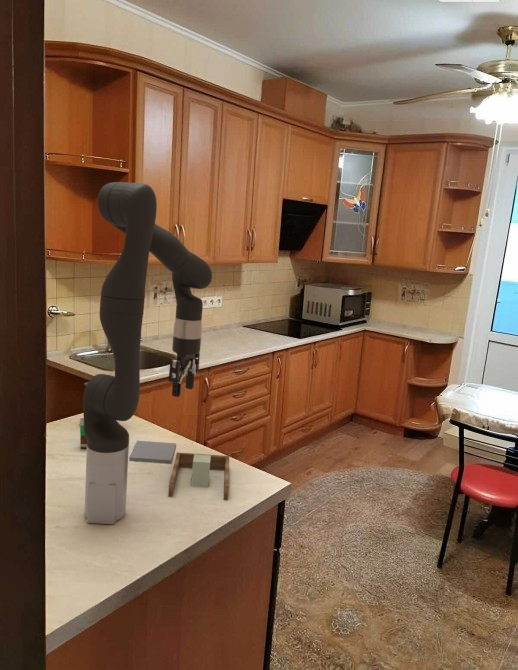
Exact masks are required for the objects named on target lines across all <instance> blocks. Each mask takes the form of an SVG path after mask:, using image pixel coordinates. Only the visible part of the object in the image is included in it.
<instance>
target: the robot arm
mask: <svg viewBox="0 0 518 670" xmlns="http://www.w3.org/2000/svg"><path fill="white" fill-rule="evenodd" d="M157 203H158V202H157V197H156V194H155V191H154V189H153V188H152V187H151V186H150V185H149V184H147V183H140V182H124V181H114V182H109V183H106V184H104V185H103V186H102V187H101V188H100V190H99V192H98V195H97V208H98V211H99V213H100V216H101V217H102V218H103V219H104V220H105V222H107V223H108V224H110V225H111V226H113V227H114V228H116V229H117V230H119V231H121V232H122V233H124V234H125V237H124V242H123V243H124V244H123V248H122V250H121V253H120V255H119V256H118V258H117V260H116V262H115V263H114V264H113V266H112V268H111V269H110V271H109V272H108V274H107V276H106V277H105V279H104V281H103V283H102V286H101V291H100V301H99V320H100V324H101V328H102V330H103V333H104V335H105V337H106V339H107V342H108V344H109V345H110V350H111V351H112V355H113V358H114V359H113V360H114V375H110V374H106V373H97V374H96V375H93V376H92V377H91V378H90V379H89V380H88V381H87V382H88V383H87V386H85V389H84V393H83V399H82V401H83V402H82V403H83V404H82V406H83V407H82V408H83V409H82V411H83V418H84V434H85V436H86V439H87V449H86V459H85V487H84V488H85V491H84V493H85V495H84V517H85V518H86V523H88V524H99V525H100V524H103V525H115V524H116V522H118V521H120V520H121V519H123V518H124V516H125V515H126V512H127V511H126V510H127V509H126V508H127V488H128V471H129V470H128V468H129V452H130V451H129V449H130V434H129V432H128V430H127V429H126V428H125V427H124V426H123V425H121V423H119V422H127V421H128V420H130V419H131V418H133V416H134V415H135V414H136V411H137V408H138V405H139V401H140V400H139V399H140V391H141V390H140V387H141V385H140V384H141V381H140V374H141V372H140V371H141V370H140V369H141V368H140V366H141V365H140V362H141V361H140V358H141V357H140V353H141V338H142V327H143V318H144V311H145V300H146V296H145V295H146V284H147V283H146V282H147V273H148V267H149V265H148V263H149V259H150V257H149V256H150V253H151V254H152V255H153V256H154V257H155V258H156V259H157V260H158V261H159V262H160V263H161V264H162V266H164V267H165V268H166V269H167V270H168V271H169V272H171V279H172V280H171V282H172V285H173V290H174V291H173V292H174V296H175V301H176V302H175V303H176V306H175V307H176V308H175V320H174V324H173V336H172V347H171V348H172V349H171V350H172V352H174V353H176V359H172V358H171V359H170V362H169V372H168V382H169V383H170V382H171V383H172V385H171V386H172V388H171V395H172V397H176V398H179V397H180V396H181V393H182V382H183V379H184V378H185V389H188V390H193V389H194V385H195V377H196V375H197V373H199V371H200V357H201V355H200V351H201V343H202V342H201V341H202V332H203V324H202V319H203V318H202V317H203V309H204V307H203V306H204V303H203V302H204V301H203V300H202V299H201V298H200V297H198V296H196V295H194V294H193V293H192V290H191V288H192V289H197V290H203V289H206V288H208V287H209V285H210V284H211V282H212V279H213V272H212V269H211V266H210V265H209V264H208V263H207V262H206V261H205V260H204V259H202V258H201V257H199V256H198V255H197V254H194V253H193V252H191V251H189V249H188V248H187V247H186V246H185V245H184V244H183V242H182V241H181V240H180V239H179V238H177V236H176V235H174V234H173V233H171V232H170V231H168V230H166V229H165V228H163V227H162V226H160V225H158V224H157V223H156V217H157V210H158V209H157V207H158V205H157Z"/></svg>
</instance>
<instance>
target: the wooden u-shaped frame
mask: <svg viewBox="0 0 518 670" xmlns="http://www.w3.org/2000/svg"><path fill="white" fill-rule="evenodd" d="M194 454H195V453H191V452H187V453H186V452H178V451H177V452H176V455H175V459H174V461H173V466H172V471H171V474H170V478H169V483H168V494H167V495H168V496H167V497H170V498H171V497H173V496H174V491H175V486H176V482H177V478H178V474H179V470H180V468H186V469H192V468H193V459H194ZM197 454H198V455H208V454H207V453H206V454H204V453H197ZM210 455H211V459H210V470H216V471H224V477H223V479H224V481H223V500H224V501H228V499H229V498H228V497H229V496H228V495H229V488H230V487H229V484H230V483H229V480H230V455H219V454H210Z"/></svg>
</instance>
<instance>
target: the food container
mask: <svg viewBox="0 0 518 670" xmlns="http://www.w3.org/2000/svg"><path fill="white" fill-rule="evenodd" d="M79 430H80V433H79V434H80V437H79V438H80V439H79V440H80V441H79V442H80V450H87V439H86V436H85V434H84V417H82V418H81V417H80V419H79Z"/></svg>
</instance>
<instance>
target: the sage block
mask: <svg viewBox="0 0 518 670" xmlns="http://www.w3.org/2000/svg"><path fill="white" fill-rule="evenodd" d="M193 454H194V459H193V468H191V471H192V473H191V484H190V485H191V487H203V488H205V487H206V488H209V481H210V470H211V469H210V459H211V455H212V454H207V455H198V454H199V453H193Z"/></svg>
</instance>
